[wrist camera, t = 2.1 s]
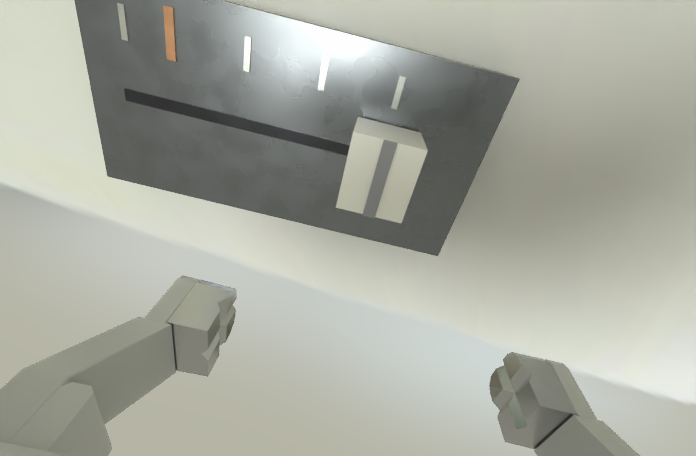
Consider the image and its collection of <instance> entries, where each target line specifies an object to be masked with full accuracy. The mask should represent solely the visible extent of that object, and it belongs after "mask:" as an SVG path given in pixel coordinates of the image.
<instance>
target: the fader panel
mask: <svg viewBox="0 0 696 456" xmlns="http://www.w3.org/2000/svg"><path fill="white" fill-rule="evenodd" d="M75 5H76V11H77V16H78V21H79V27H80V32H81V37H82V43H83V48H84V53H85V59H86V64H87V69H88V75H89V80H90V85H91V91H92V96H93V101H94V107H95V112H96V117H97V123H98V128H99V133H100V139H101V144H102V149H103V155H104V160H105V165H106V171H107V176H108V177H112V178H117V179H121V180H125V181H129V182H133V183H137V184H141V185H146V186H150V187H154V188H158V189H162V190H166V191H170V192H175V193H179V194H183V195H187V196H191V197H195V198H199V199H204V200H208V201H212V202H216V203H220V204H224V205H228V206H233V207H237V208H241V209H245V210H249V211H253V212H257V213H262V214H266V215H270V216H274V217H278V218H282V219H286V220H291V221H295V222H299V223H303V224H307V225H311V226H315V227H320V228H324V229H328V230H332V231H336V232H340V233H344V234H349V235H353V236H357V237H361V238H365V239H369V240H373V241H378V242H382V243H386V244H390V245H394V246H398V247H402V248H407V249H411V250H415V251H419V252H423V253H427V254H431V255H436V256H438V254H439V252H440V250H441V248H442V246H443V244H444V241H445V239H446V237H447V235H448V233H449V231H450V228H451V226H452V224H453V222H454V220H455V218H456V216H457V213H458V211H459V209H460V207H461V205H462V203H463V200H464V198H465V196H466V194H467V192H468V190H469V187H470V185H471V183H472V181H473V179H474V177H475V174H476V172H477V170H478V168H479V166H480V164H481V162H482V159H483V157H484V155H485V153H486V151H487V149H488V146H489V144H490V142H491V140H492V138H493V136H494V133H495V131H496V129H497V127H498V125H499V123H500V120H501V118H502V116H503V114H504V112H505V110H506V108H507V105H508V103H509V101H510V99H511V97H512V95H513V92H514V90H515V88H516V86H517V84H518V82H519V79H518V78H515V77H512V76H509V75H506V74H502V73H498V72H495V71H491V70H487V69H483V68H479V67H475V66H472V65H468V64H464V63H460V62H456V61H453V60H449V59H445V58H441V57H437V56H433V55H430V54H426V53H422V52H418V51H414V50H411V49H407V48H403V47H399V46H395V45H391V44H388V43H384V42H380V41H376V40H372V39H369V38H365V37H361V36H357V35H353V34H349V33H346V32H342V31H338V30H334V29H330V28H327V27H323V26H319V25H315V24H311V23H307V22H304V21H300V20H296V19H292V18H288V17H285V16H281V15H277V14H273V13H269V12H265V11H262V10H258V9H254V8H250V7H246V6H243V5H239V4H235V3H231V2H227V1H223V0H75ZM358 117H361V118H365V119H369V120H373V121H377V122H381V123H385V124H389V125H393V126H397V127H401V128H405V129H409V130H413V131H417V132H421V134H422V137H423V139H424V142H425V144H426V147H427V150H428V152H427V154H426V157H425V160H424V163H423V165H422V168H421V171H420V174H419V176H418V179H417V182H416V185H415V187H414V190H413V193H412V196H411V198H410V201H409V204H408V207H407V209H406V212H405V215H404V218H403V220H402V223H397V222H393V221H389V220H385V219H381V218H377V217H375V218H370V217H366V216H363V214H360V213H356V212H352V211H348V210H344V209H340V208H336V204H337V200H338V195H339V191H340V187H341V182H342V178H343V174H344V169H345V165H346V161H347V156H348V152H349V147H350V143H351V139H352V134H353V131H354V127H355V124H356V121H357V118H358Z"/></svg>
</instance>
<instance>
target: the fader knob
mask: <svg viewBox="0 0 696 456" xmlns="http://www.w3.org/2000/svg"><path fill="white" fill-rule="evenodd" d="M427 152H428V150H427V147H426V144H425V142H424V139H423V137H422V134H421V132H417V131H413V130H409V129H405V128H401V127H397V126H393V125H389V124H385V123H381V122H377V121H373V120H369V119H365V118H361V117H358V118H357V121H356V124H355V127H354V131H353V134H352V139H351V143H350V147H349V152H348V156H347V161H346V165H345V169H344V174H343V178H342V182H341V187H340V191H339V195H338V200H337V204H336V208H340V209H344V210H348V211H352V212H356V213H360V214H363V216H366V217H370V218H375V217H377V218H381V219H385V220H389V221H393V222H397V223H402V220H403V218H404V215H405V212H406V209H407V207H408V204H409V201H410V198H411V196H412V193H413V190H414V187H415V185H416V182H417V179H418V176H419V174H420V171H421V168H422V165H423V163H424V160H425V157H426V154H427Z"/></svg>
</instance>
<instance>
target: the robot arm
mask: <svg viewBox="0 0 696 456" xmlns="http://www.w3.org/2000/svg"><path fill="white" fill-rule="evenodd" d="M235 300H236V289H234V288H231V287H227V286H223V285H219V284H215V283H212V282H207V281H204V280H199V279H195V278H191V277H187V276H182V277H180V278H178V279H177V280H176V281H175V282H174V284H173V285H172V286H171V287H170V288H169V290H168V291H167V292H166V293H165V294H164V295H163V297H162V298H161V299H160V300H159V301H158V302H157V304H156V305H155V306H154V307H153V308H152V310H151V311H150V312H149V313H148V314H147V315H146V316H145V318H142V317H137V318H135V319H133V320H130V321H128V322H126V323H124V324H122V325H119V326H117V327H115V328H113V329H111V330H108V331H106V332H104V333H101V334H99V335H97V336H95V337H93V338H90V339H88V340H86V341H84V342H82V343H79V344H77V345H75V346H73V347H70V348H68V349H66V350H64V351H62V352H59V353H57V354H55V355H53V356H50V357H48V358H46V359H44V360H42V361H39V362H37V363H35V364H33V365H31V366H28V367H26V368H24V369H22V370H21V371H20V372H19V373H18V374H17V375H16V376H14V377H13V378H12V379H11V380H10V381H9V382H8V383H7V384H6V385H5V386H4V387H2V388H1V389H0V456H108V455H109V453H110V452H111V450H112V447H111V442H110V439H109V436H108V433H107V430H106V427H105V424H106V423H107V422H108V421H110V420H111V419H113V418H114V417H115V416H117V415H118V414H119V413H121V412H122V411H124V410H125V409H126V408H127V407H129V406H130V405H131V404H133V403H135V402H136V401H137V400H139V399H140V398H141V397H143V396H144V395H145V394H147V393H148V392H150V391H151V390H152V389H153V388H155V387H156V386H158V385H159V384H161V383H162V382H163V381H165V380H166V379H167V378H169V377H170V376H171V375H173V374H174V373H175V372H176V370H177V371H182V372H187V373H193V374H198V375H203V376H208V375H209V373H210V371H211V370H212V368H213V366H214V364H215V362H216V360H217V358H218V356H219V346H220V345H221V344H223V343H225V342H226V340H227V338H228V336H229V334H230V332H231V329H232V326H233V324H234V319H235V312H236V311H235V310H236V309H235V308H234V306H233V303H234V301H235ZM503 361H504V366H502V367H499V368H497V369H496V370H495V371H494V373H493V374H492V376H491V380H490V394H491V397H492V401H493V402H494V404H495V405H496V406H497V407H498V408H499V410H500V412H499V415H498V421H499V424H500V427H501V430H502V434H503V437H504V440H505V442H508V443H512V444H516V445H520V446H524V447H528V448H532V449H535V450H534V451H535V453H536V454H537V455H538V456H640V455H639V454H637V453H636V452H635V451H634V450H633V449H632V448H631V447H630V446H629V445H627V443H626V442H625V441H623V440H622V439H621V438H620V437H619V436H618V435H617V434H616V433H615V432H614V431H613V430H612V429H611V428H609V427H608V426H607V425H606V424H605V423H604V422H603V421H599V420H597V418H596V416H595V415H594V413H593V411H592V409H591V408H590V406H589V404H588V402H587V401H586V399H585V397H584V395H583V394H582V392H581V390H580V389H579V387H578V385H577V383H576V381H575V380H574V378H573V376H572V374H571V372H570V371H569V369H568V368H567V367H566V366H565V365H564V364H563V363H559V362H554V361H550V360H544V359H541V358H536V357H532V356H527V355H523V354H518V353H513V352H511V353H509V354H507V355H506V357H505V358H504V359H503Z"/></svg>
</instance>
